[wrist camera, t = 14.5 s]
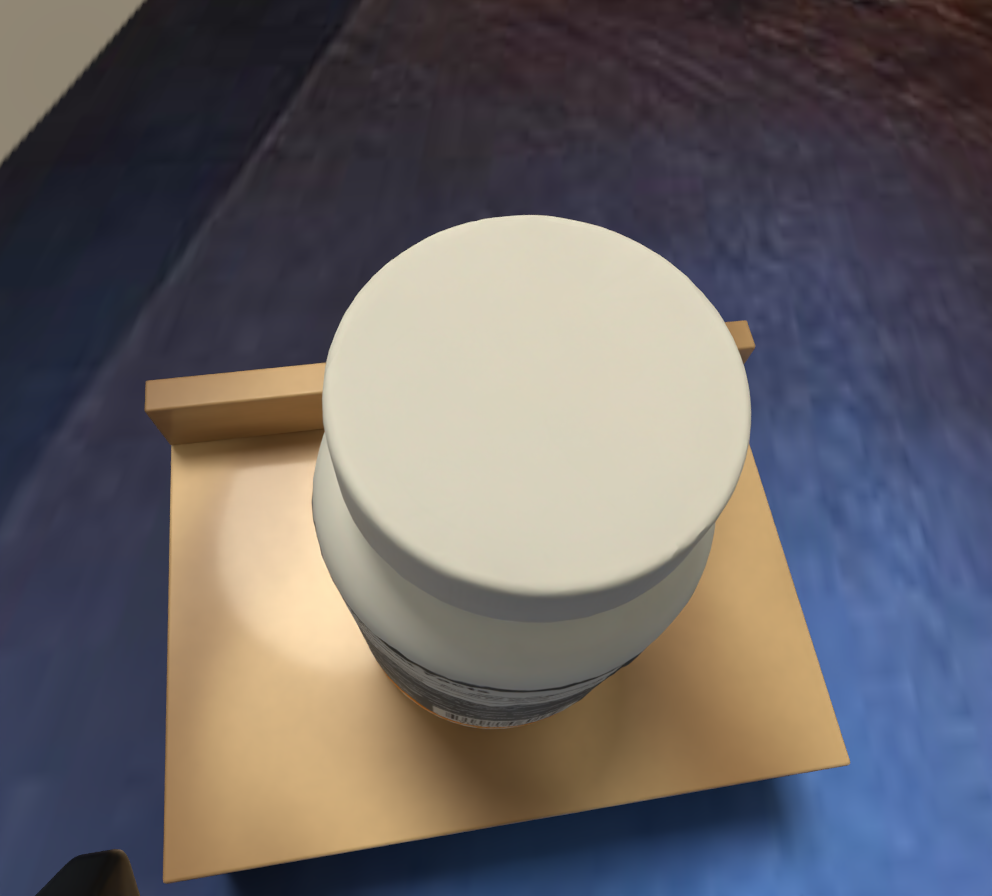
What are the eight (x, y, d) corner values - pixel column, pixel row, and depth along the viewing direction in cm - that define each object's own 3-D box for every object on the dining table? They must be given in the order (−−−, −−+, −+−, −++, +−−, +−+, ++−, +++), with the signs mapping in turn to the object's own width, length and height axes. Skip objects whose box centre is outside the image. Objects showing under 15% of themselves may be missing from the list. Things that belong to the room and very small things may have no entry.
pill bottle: (466, 438, 19) (483, 104, 10) (666, 576, 18) (890, 339, 9) (308, 625, 17) (148, 416, 8) (523, 796, 16) (624, 781, 7)
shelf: (676, 432, 24) (747, 319, 19) (771, 773, 20) (897, 760, 15) (220, 486, 23) (144, 379, 17) (223, 868, 19) (125, 894, 13)
